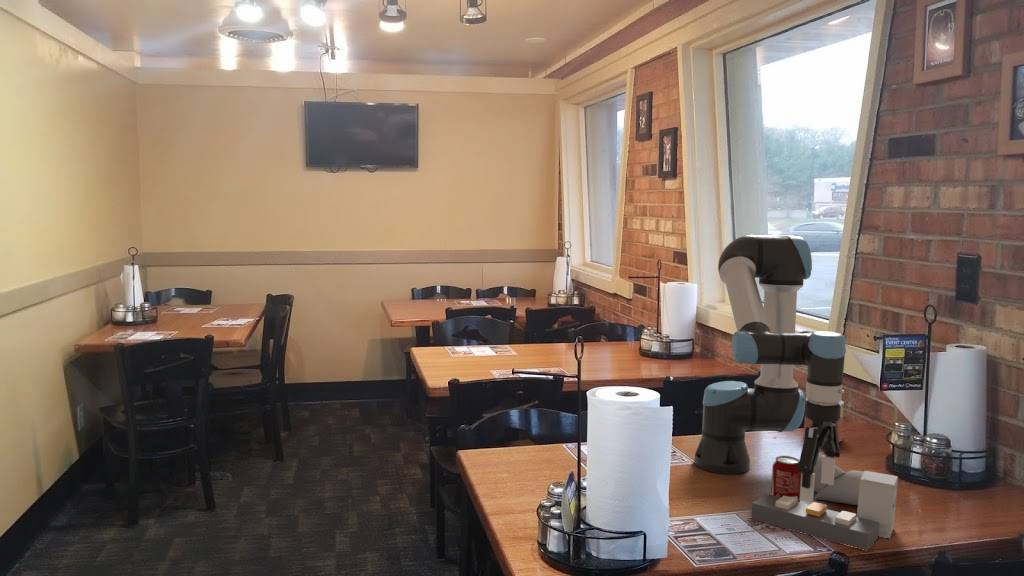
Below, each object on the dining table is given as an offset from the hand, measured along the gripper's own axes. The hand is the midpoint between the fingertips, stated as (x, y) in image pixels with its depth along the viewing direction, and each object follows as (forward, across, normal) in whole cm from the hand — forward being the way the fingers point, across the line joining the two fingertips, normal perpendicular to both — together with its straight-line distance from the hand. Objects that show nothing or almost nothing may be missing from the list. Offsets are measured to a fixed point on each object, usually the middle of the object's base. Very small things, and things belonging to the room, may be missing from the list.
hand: (817, 492), depth 185 cm
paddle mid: (+5, 0, 0) cm, 5 cm away
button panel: (+9, 0, 0) cm, 9 cm away
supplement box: (+9, +9, -11) cm, 17 cm away
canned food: (+10, +73, +23) cm, 77 cm away
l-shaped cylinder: (+10, +25, +3) cm, 27 cm away
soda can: (+9, +9, +10) cm, 16 cm away
